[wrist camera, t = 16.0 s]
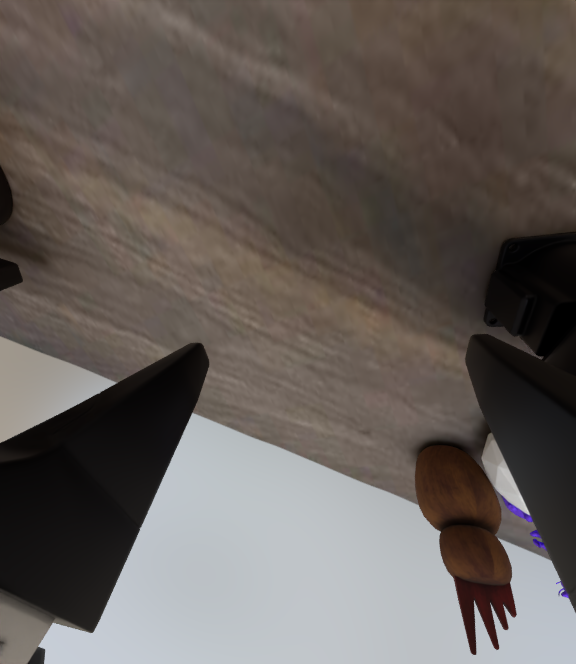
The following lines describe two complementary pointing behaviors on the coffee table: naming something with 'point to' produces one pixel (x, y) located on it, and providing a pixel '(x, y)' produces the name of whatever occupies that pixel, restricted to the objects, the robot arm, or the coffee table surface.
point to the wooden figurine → (467, 534)
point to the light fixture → (3, 271)
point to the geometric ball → (501, 474)
